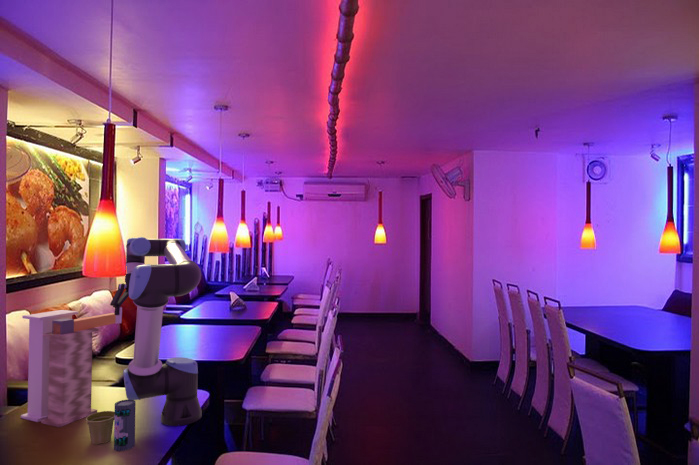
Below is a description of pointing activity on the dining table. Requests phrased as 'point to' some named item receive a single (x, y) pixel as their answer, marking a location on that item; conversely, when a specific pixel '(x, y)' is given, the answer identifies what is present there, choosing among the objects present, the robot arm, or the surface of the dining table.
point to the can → (124, 425)
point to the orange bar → (81, 323)
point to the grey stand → (40, 362)
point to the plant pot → (100, 426)
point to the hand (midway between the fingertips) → (132, 323)
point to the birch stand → (69, 377)
